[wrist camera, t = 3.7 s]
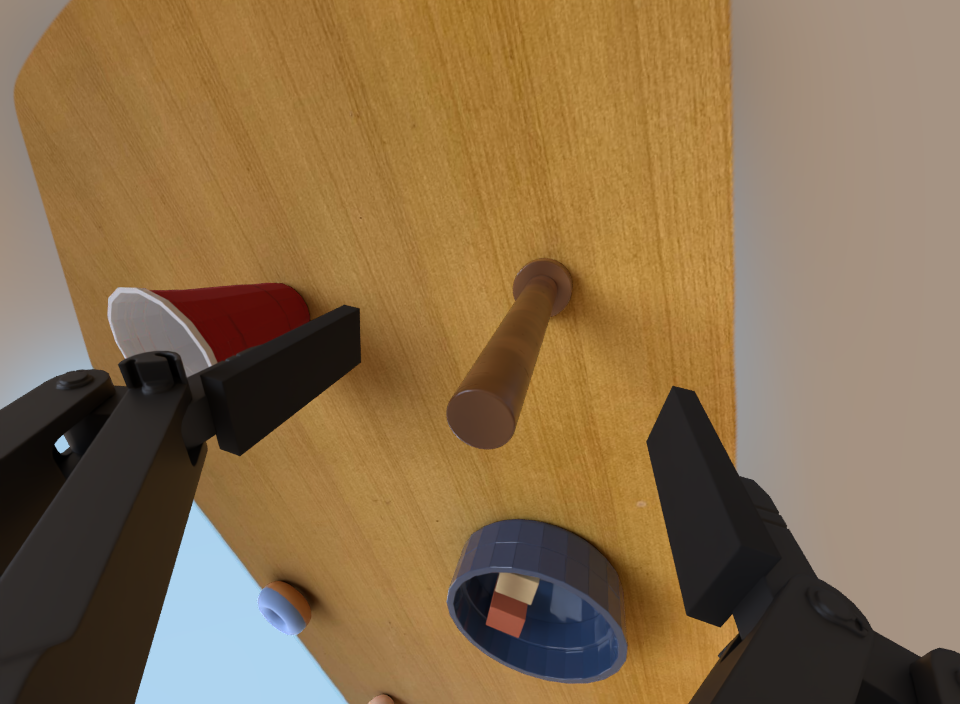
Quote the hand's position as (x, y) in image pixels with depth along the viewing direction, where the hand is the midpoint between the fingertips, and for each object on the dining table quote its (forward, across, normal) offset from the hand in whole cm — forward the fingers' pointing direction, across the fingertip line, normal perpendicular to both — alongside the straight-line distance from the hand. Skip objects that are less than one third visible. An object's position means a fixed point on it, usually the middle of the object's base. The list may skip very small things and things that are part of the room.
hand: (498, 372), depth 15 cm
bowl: (+14, +7, -34) cm, 38 cm away
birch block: (+14, +5, -30) cm, 34 cm away
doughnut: (+15, -31, -64) cm, 73 cm away
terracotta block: (+14, +5, -38) cm, 40 cm away
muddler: (+15, 0, 0) cm, 15 cm away
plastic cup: (+15, -25, -8) cm, 30 cm away
